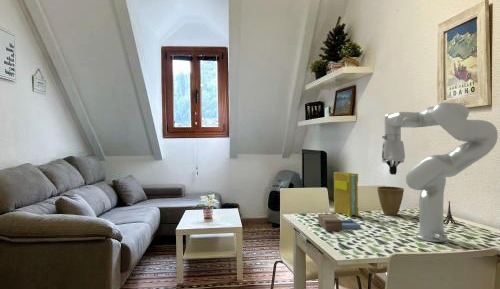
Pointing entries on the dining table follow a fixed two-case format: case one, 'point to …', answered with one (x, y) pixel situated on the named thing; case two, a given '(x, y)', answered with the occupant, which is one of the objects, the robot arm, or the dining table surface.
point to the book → (346, 193)
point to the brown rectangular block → (330, 222)
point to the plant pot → (390, 199)
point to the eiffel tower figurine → (449, 216)
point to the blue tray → (350, 224)
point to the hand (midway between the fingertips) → (393, 174)
